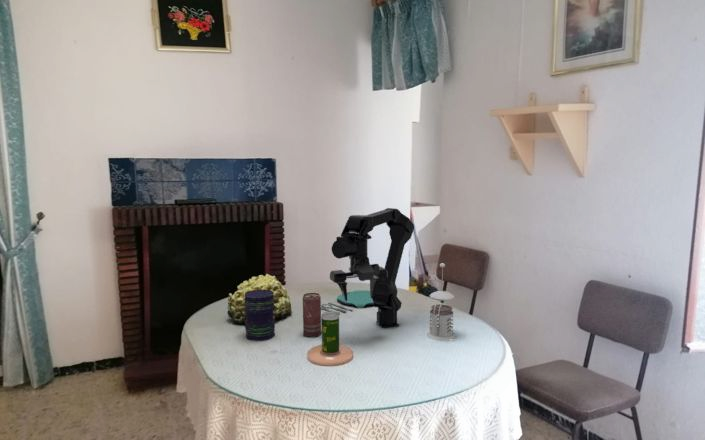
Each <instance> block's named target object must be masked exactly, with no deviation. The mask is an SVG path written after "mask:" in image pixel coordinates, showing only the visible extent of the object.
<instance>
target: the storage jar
mask: <svg viewBox="0 0 705 440" xmlns="http://www.w3.org/2000/svg"><path fill="white" fill-rule="evenodd" d="M273 295H274V292H273V291H271V290H264V289H260V290H252V291H248V292H246V293H245V311H246V322H245V323H244V324H245V334H246V335H245V338H246V340H248V341H251V342H264V341H269V340H271V339H273V338H274V337H275V334H276V333H275V330H276V329H275V328H276V324H275V323H276V322H275V321H274V314H273V309H274V296H273Z"/></svg>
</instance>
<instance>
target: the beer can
mask: <svg viewBox="0 0 705 440" xmlns="http://www.w3.org/2000/svg"><path fill="white" fill-rule="evenodd" d="M337 312H338V311H335V312H328V311H325V312H323V313H322V312H321V345H322V352H323V353H324V354H326V355H335V354H337V353H338V352H339V345H340V316H339V315H338V313H337Z"/></svg>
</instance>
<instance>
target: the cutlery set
mask: <svg viewBox="0 0 705 440" xmlns="http://www.w3.org/2000/svg"><path fill="white" fill-rule="evenodd" d="M336 301H337V302H339V303H342V304H343V305H348V306H355V307H357V308H358V309H363V308H364V307H365V306H370V305H371V306H372V305H374V303H373V299H372V298H371V296H370V290H368V289H367V290H364V289H362V290H360V289H359V290H353V291H349V292H348V291H347V301H345V299H344V297H343V294H342V293H341V294H339V295H337V298H336ZM327 305H328V307H327ZM343 305H339V304H336V303H333V302H328V303H321V311H325V312H337V313H338V316H339V315H341V313H340V312H343V313H347V312H348V311H350V312H353V309H349V308H347V307H345V306H343ZM333 306H334V307H333ZM336 307H337V308H336ZM331 309H333V310H334V311H333V310H331ZM335 310H337V311H335ZM338 311H340V312H338Z"/></svg>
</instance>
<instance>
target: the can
mask: <svg viewBox="0 0 705 440" xmlns="http://www.w3.org/2000/svg"><path fill="white" fill-rule="evenodd" d="M321 300H322V298H321V295H320V294H319V293H318V292H307V293H304V294H303V296H302V327H303V329H302V330H303V331H302V332H303V336H305V337H307V338H316V337H319V336H320V335H322V327H321V317H322V310H321V307H322V301H321Z"/></svg>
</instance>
